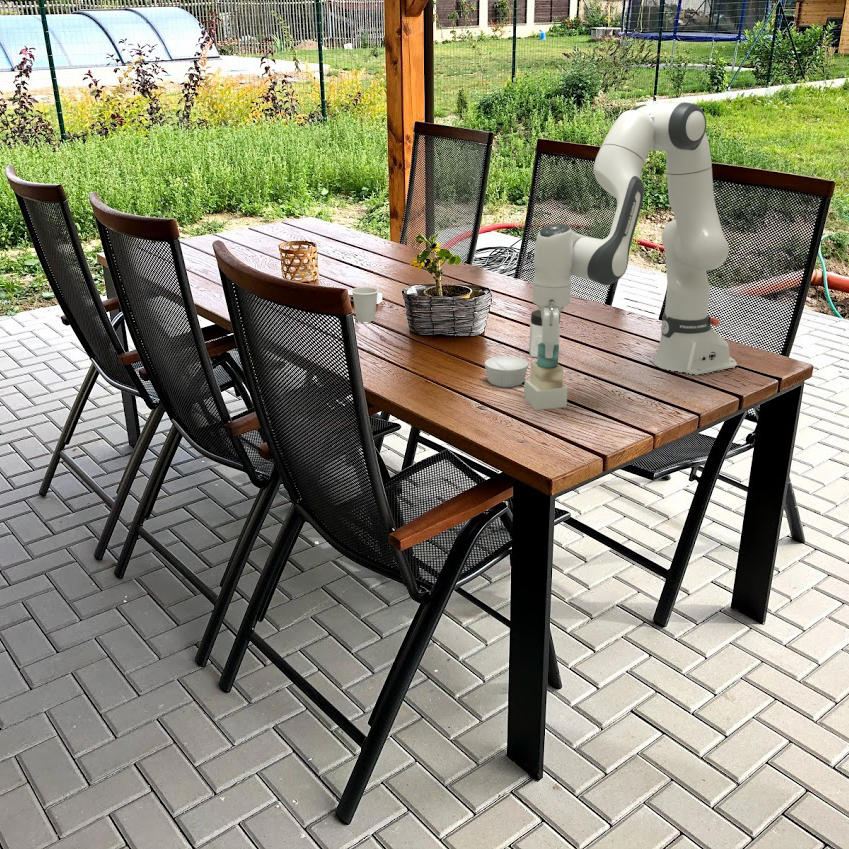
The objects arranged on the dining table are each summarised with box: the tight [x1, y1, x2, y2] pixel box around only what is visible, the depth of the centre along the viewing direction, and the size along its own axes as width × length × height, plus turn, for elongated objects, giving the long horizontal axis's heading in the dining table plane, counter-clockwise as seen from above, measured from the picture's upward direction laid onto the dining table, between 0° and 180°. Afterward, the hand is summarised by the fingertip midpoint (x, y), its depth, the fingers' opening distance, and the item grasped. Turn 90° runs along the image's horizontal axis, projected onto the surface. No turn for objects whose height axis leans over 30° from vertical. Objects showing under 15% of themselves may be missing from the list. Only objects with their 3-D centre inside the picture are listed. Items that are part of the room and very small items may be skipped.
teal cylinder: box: [536, 343, 560, 368], centre depth 224 cm, size 5×5×5 cm
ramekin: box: [484, 355, 529, 388], centre depth 241 cm, size 11×11×5 cm
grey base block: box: [523, 379, 568, 411], centre depth 228 cm, size 8×8×5 cm
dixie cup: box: [351, 286, 379, 322], centre depth 290 cm, size 8×8×10 cm
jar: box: [528, 309, 561, 358], centre depth 260 cm, size 9×8×12 cm
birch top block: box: [529, 361, 564, 390], centre depth 226 cm, size 6×6×5 cm
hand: (548, 350), depth 223 cm, fingers open, 8 cm apart
